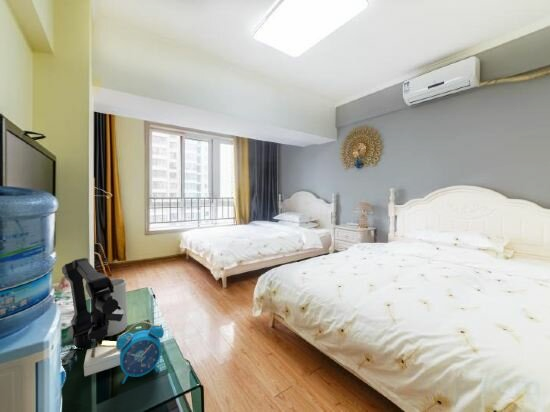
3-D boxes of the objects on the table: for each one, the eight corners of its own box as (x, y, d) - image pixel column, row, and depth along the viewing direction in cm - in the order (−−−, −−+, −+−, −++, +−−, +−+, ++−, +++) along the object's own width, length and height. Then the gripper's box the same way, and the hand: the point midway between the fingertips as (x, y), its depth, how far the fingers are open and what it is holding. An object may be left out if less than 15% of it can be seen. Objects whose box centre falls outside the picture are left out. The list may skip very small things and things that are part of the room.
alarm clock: (116, 390, 88) (114, 338, 86) (118, 372, 97) (116, 324, 95) (166, 373, 96) (165, 325, 95) (163, 357, 105) (162, 313, 104)
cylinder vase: (132, 323, 131) (131, 279, 129) (115, 337, 119) (113, 288, 117) (111, 322, 132) (109, 278, 131) (92, 336, 120) (89, 287, 118)
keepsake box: (129, 348, 111) (128, 334, 111) (129, 361, 102) (128, 347, 102) (87, 360, 103) (86, 346, 102) (84, 376, 94) (83, 360, 94)
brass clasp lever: (122, 344, 106) (123, 341, 107) (122, 347, 104) (123, 345, 104) (97, 342, 101) (98, 340, 102) (96, 346, 99) (98, 344, 99)
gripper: (122, 311, 96) (123, 349, 97) (122, 294, 112) (123, 326, 113) (86, 319, 90) (88, 359, 91) (92, 299, 106) (94, 334, 107)
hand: (100, 343), depth 101 cm, fingers closed, pressing on brass clasp lever
